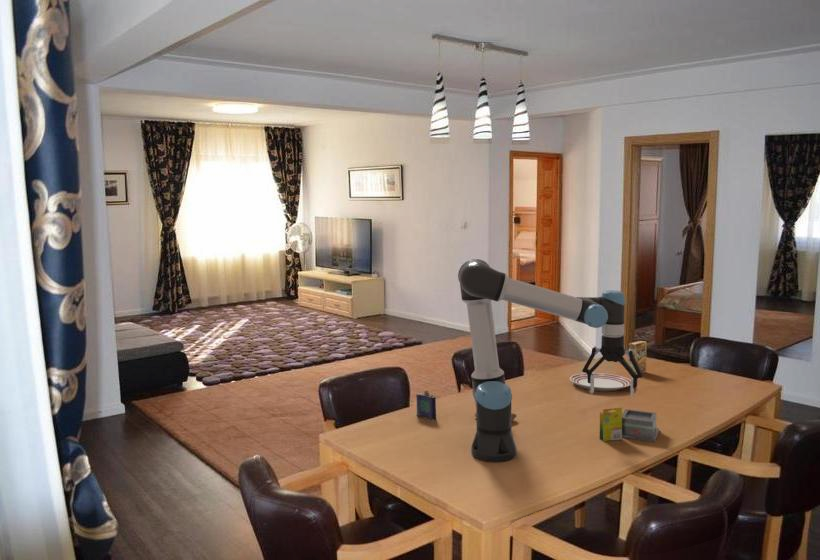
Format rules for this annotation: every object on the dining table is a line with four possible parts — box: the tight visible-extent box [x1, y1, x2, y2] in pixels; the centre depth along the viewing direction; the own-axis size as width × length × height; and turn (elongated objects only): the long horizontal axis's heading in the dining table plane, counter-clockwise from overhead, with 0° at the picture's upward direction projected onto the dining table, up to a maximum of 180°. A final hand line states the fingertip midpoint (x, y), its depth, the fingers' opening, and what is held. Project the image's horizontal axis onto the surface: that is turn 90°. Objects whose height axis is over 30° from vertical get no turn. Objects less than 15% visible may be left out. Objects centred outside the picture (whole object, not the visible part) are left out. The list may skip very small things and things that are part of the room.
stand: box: [622, 408, 660, 443], centre depth 234 cm, size 13×13×7 cm
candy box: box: [628, 340, 648, 374], centre depth 316 cm, size 9×4×15 cm, turn 126°
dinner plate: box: [569, 372, 631, 392], centre depth 296 cm, size 27×27×3 cm
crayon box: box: [599, 407, 623, 442], centre depth 228 cm, size 7×3×12 cm, turn 100°
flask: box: [415, 390, 437, 420], centre depth 256 cm, size 9×3×11 cm, turn 50°
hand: (611, 394), depth 227 cm, fingers open, 13 cm apart
